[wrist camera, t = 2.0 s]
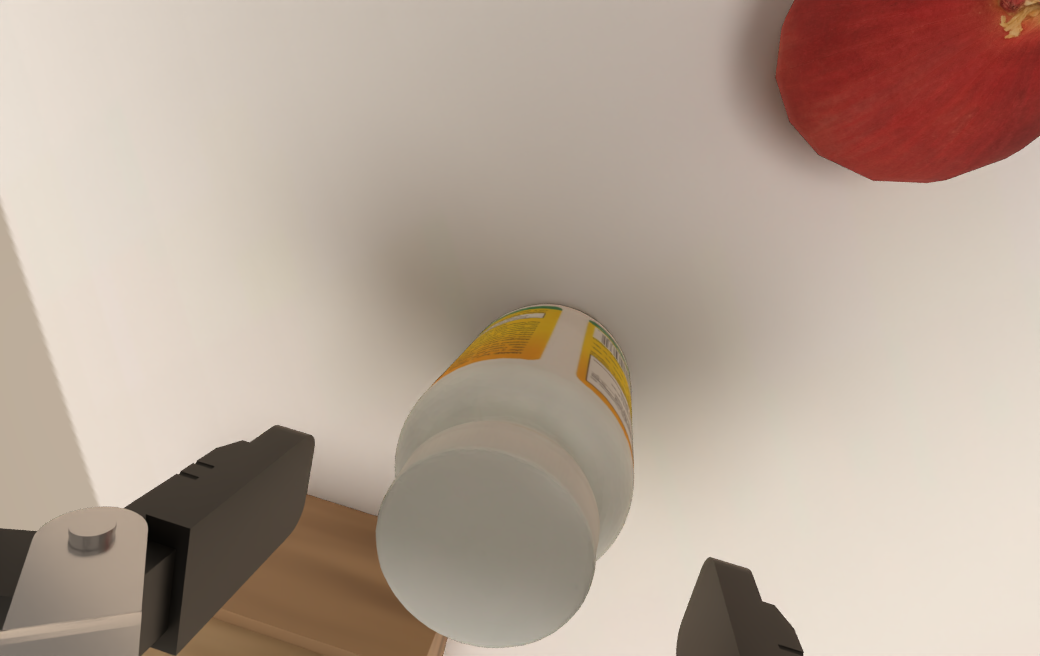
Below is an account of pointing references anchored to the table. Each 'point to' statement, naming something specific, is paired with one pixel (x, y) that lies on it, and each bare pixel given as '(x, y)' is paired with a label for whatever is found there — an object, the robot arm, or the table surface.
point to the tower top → (234, 643)
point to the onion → (912, 83)
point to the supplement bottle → (511, 480)
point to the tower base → (330, 591)
